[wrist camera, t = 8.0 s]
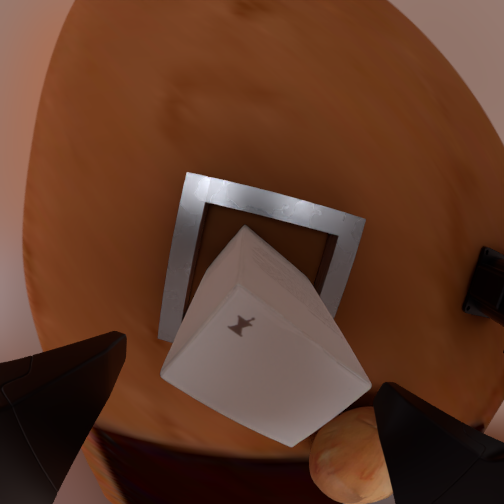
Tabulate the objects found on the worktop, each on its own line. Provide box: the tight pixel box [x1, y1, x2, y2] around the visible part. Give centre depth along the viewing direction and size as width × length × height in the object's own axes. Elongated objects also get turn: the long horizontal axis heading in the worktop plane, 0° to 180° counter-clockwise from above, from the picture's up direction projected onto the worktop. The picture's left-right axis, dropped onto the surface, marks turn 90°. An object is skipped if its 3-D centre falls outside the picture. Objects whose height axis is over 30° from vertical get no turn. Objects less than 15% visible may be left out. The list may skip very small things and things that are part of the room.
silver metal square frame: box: [158, 172, 366, 343], centre depth 18 cm, size 11×11×2 cm
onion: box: [309, 407, 393, 504], centre depth 18 cm, size 10×10×10 cm
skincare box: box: [160, 225, 372, 447], centre depth 14 cm, size 6×4×12 cm
